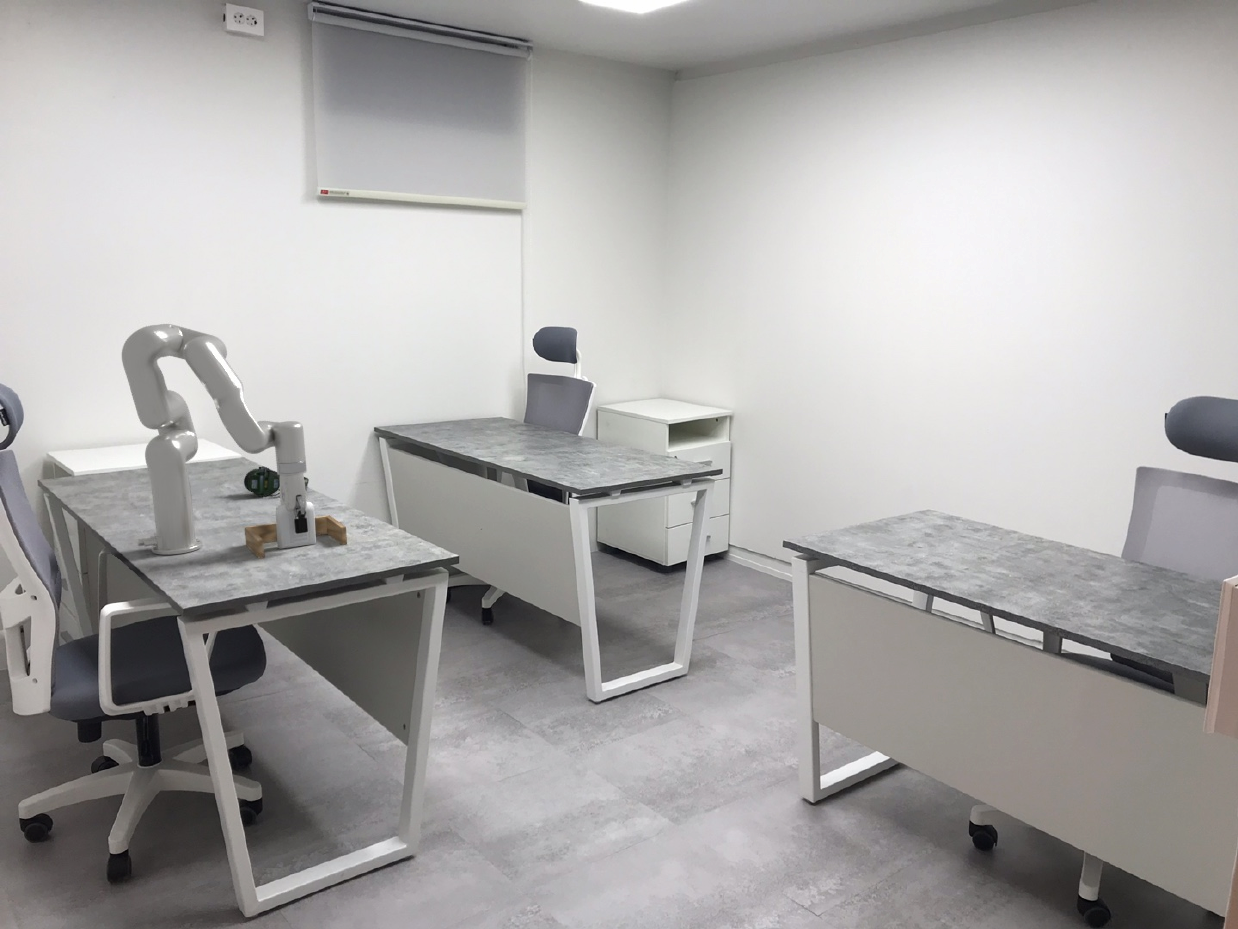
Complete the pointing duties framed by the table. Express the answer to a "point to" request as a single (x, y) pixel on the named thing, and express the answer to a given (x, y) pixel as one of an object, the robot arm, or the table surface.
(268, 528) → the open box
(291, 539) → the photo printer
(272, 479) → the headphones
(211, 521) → the table surface
